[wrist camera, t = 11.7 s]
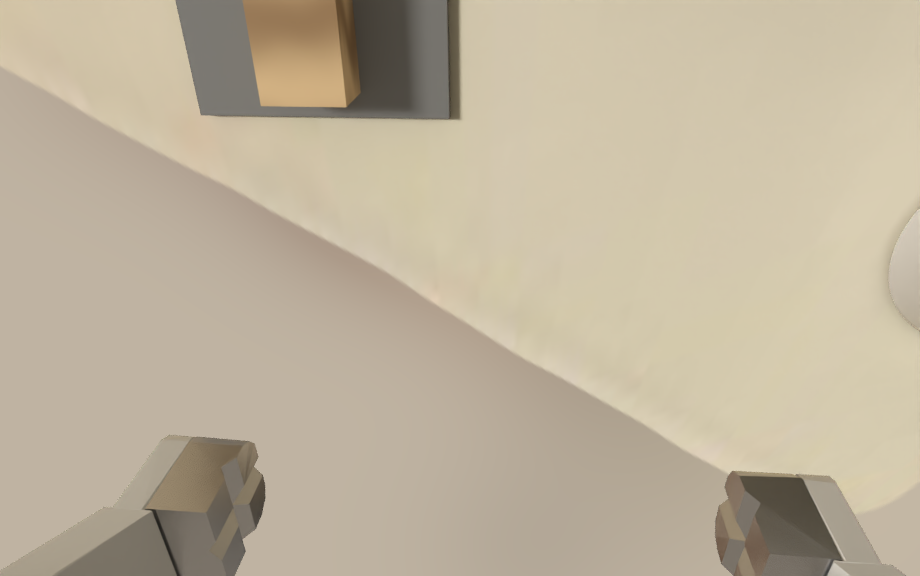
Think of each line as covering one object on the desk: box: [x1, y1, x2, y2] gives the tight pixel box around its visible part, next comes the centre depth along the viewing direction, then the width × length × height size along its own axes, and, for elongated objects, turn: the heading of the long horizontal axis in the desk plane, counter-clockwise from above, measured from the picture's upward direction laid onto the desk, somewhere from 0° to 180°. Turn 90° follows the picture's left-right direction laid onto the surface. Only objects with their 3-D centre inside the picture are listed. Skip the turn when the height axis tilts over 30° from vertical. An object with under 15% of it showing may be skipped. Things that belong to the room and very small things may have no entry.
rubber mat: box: [176, 0, 450, 119], centre depth 36 cm, size 16×12×1 cm
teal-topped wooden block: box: [243, 0, 361, 107], centre depth 34 cm, size 9×5×4 cm, turn 1°
